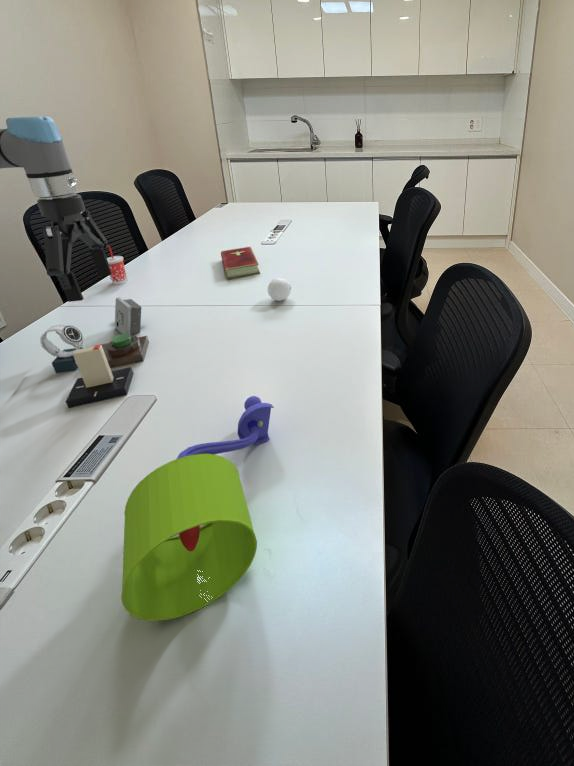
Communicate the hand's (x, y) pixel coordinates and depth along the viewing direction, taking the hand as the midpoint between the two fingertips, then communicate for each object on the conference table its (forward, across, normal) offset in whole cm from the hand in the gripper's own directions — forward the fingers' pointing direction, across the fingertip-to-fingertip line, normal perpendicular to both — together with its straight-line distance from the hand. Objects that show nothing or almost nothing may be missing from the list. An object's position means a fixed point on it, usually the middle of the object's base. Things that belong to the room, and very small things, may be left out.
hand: (91, 287), depth 89 cm
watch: (+21, 0, +11) cm, 23 cm away
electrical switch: (+21, +15, +3) cm, 26 cm away
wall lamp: (+21, -43, -33) cm, 58 cm away
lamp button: (+17, +2, -1) cm, 17 cm away
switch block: (+20, +1, 0) cm, 21 cm away
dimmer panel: (+21, -12, -2) cm, 24 cm away
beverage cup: (+20, +51, +20) cm, 59 cm away
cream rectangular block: (+19, -12, -2) cm, 22 cm away
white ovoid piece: (+21, +26, -39) cm, 51 cm away
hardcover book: (+21, +57, -22) cm, 64 cm away
